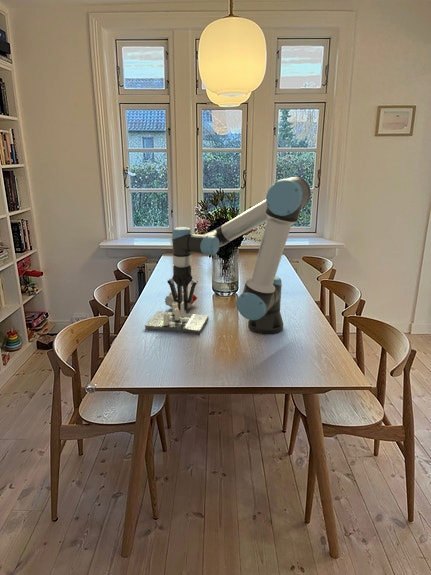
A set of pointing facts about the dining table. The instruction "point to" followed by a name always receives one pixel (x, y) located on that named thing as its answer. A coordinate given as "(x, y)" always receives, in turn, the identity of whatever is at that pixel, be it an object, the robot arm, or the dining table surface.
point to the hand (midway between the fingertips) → (183, 316)
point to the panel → (178, 323)
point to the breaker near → (166, 319)
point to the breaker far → (174, 307)
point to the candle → (170, 301)
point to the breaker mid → (177, 314)
